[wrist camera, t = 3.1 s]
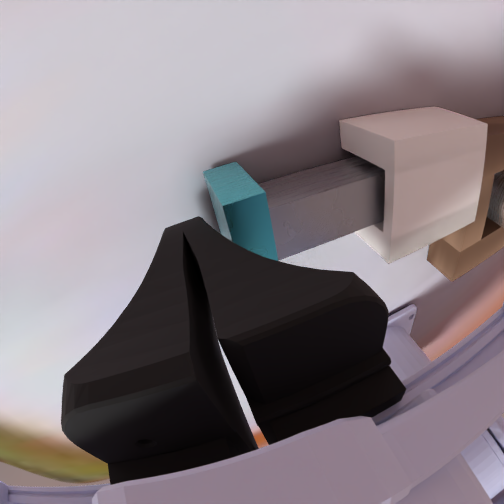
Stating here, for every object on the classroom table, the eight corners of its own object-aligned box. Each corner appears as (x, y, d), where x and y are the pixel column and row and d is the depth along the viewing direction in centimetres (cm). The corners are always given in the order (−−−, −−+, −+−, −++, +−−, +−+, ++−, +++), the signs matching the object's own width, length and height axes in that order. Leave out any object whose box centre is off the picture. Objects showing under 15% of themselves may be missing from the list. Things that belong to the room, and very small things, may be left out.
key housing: (431, 193, 15) (474, 221, 12) (345, 225, 14) (388, 263, 11) (435, 106, 12) (487, 124, 9) (338, 120, 11) (394, 140, 8)
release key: (375, 209, 14) (417, 241, 11) (229, 261, 13) (252, 310, 10) (373, 127, 11) (425, 148, 9) (202, 171, 10) (222, 206, 8)
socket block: (495, 221, 19) (516, 237, 17) (426, 259, 18) (451, 281, 16) (511, 115, 14) (538, 126, 12) (441, 123, 13) (478, 138, 11)
